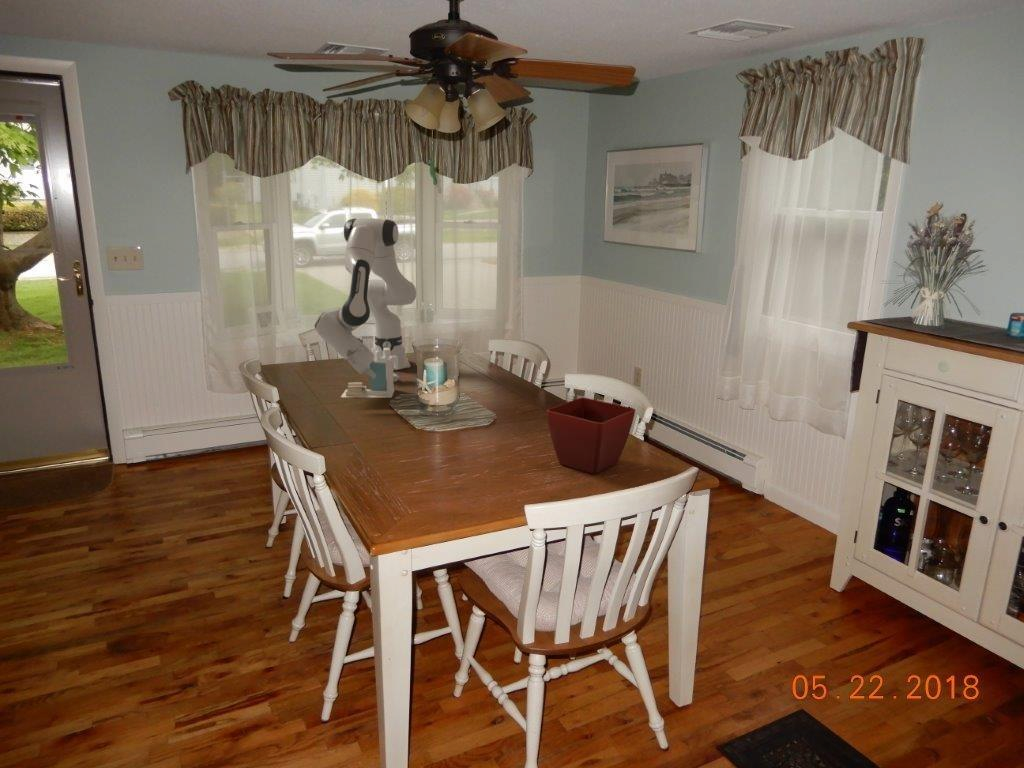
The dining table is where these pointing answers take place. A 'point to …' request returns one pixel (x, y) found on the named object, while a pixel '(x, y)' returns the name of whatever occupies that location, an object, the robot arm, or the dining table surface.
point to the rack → (390, 386)
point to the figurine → (385, 358)
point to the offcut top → (355, 386)
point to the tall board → (378, 376)
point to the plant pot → (589, 433)
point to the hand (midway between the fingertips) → (377, 373)
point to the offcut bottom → (357, 392)
